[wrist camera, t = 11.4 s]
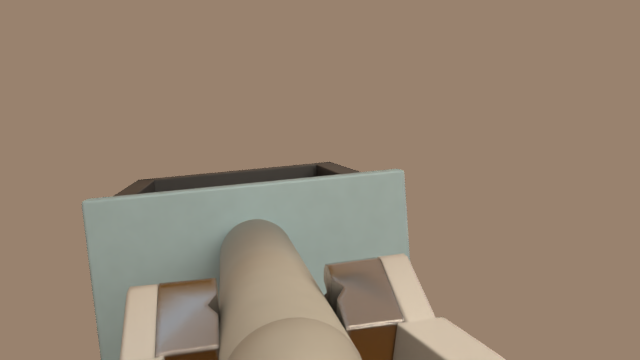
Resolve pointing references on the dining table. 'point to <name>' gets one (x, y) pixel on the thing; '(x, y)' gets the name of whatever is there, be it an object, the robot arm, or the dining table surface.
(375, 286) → the robot arm
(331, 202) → the tray
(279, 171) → the box
